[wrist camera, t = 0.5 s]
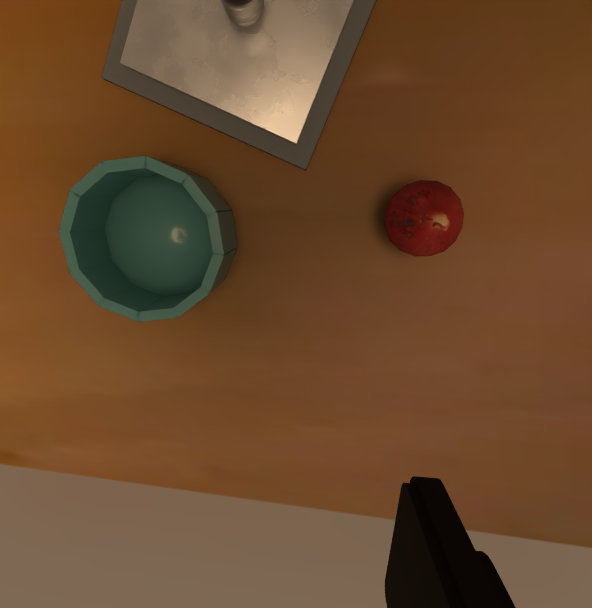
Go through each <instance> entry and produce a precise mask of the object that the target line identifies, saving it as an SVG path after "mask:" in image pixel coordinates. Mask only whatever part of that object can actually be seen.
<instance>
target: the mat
mask: <svg viewBox="0 0 592 608" xmlns="http://www.w3.org/2000/svg"><path fill="white" fill-rule="evenodd" d="M375 1H376V0H354V2H353V5H352V7H351V10H350V12H349V15H348V17H347V20H346V22H345V25H344V27H343V30H342V32H341V35H340V37H339V40H338V42H337V45H336V47H335V50H334V52H333V55H332V57H331V60H330V62H329V65H328V67H327V70H326V72H325V75H324V77H323V80H322V82H321V85H320V87H319V90H318V92H317V95H316V97H315V100H314V102H313V105H312V107H311V110H310V112H309V115H308V117H307V120H306V122H305V125H304V127H303V129H302V132H301V134H300V137H299V139H298V142H297V144H294V143H292V142H289V141H287V140H285V139H283V138H281V137H278V136H276V135H274V134H272V133H270V132H267V131H265V130H263V129H261V128H259V127H256V126H254V125H252V124H250V123H248V122H245V121H243V120H241V119H239V118H237V117H235V116H232V115H230V114H228V113H226V112H224V111H221V110H219V109H217V108H215V107H213V106H210V105H208V104H206V103H204V102H202V101H199V100H197V99H195V98H193V97H191V96H188V95H186V94H184V93H182V92H180V91H178V90H175V89H173V88H171V87H169V86H167V85H164V84H162V83H160V82H158V81H156V80H153V79H151V78H149V77H147V76H145V75H142V74H140V73H138V72H136V71H134V70H131V69H129V68H127V67H125V66H123V65H122V64H121V63H120V61H121V57H122V54H123V50H124V47H125V43H126V39H127V36H128V32H129V29H130V25H131V22H132V18H133V14H134V11H135V7H136V4H137V0H122V3H121V7H120V11H119V14H118V18H117V22H116V26H115V29H114V33H113V37H112V40H111V44H110V48H109V51H108V55H107V59H106V62H105V66H104V70H103V73H102V78H103V79H105V80H107V81H110V82H112V83H114V84H116V85H118V86H121V87H123V88H125V89H127V90H129V91H132V92H134V93H136V94H138V95H141V96H143V97H145V98H147V99H149V100H152V101H154V102H156V103H158V104H160V105H163V106H165V107H167V108H169V109H172V110H174V111H176V112H178V113H180V114H183V115H185V116H187V117H189V118H191V119H194V120H196V121H198V122H200V123H203V124H205V125H207V126H209V127H211V128H214V129H216V130H218V131H220V132H222V133H225V134H227V135H229V136H231V137H234V138H236V139H238V140H240V141H242V142H245V143H247V144H249V145H251V146H253V147H256V148H258V149H260V150H262V151H265V152H267V153H269V154H271V155H273V156H276V157H278V158H280V159H282V160H285V161H287V162H289V163H291V164H293V165H296V166H298V167H300V168H302V169H304V170H306V168H307V166H308V163H309V161H310V159H311V156H312V154H313V151H314V149H315V146H316V144H317V142H318V139H319V137H320V134H321V132H322V129H323V127H324V125H325V122H326V120H327V117H328V115H329V113H330V110H331V108H332V105H333V103H334V100H335V98H336V96H337V93H338V91H339V88H340V86H341V84H342V81H343V79H344V76H345V74H346V71H347V69H348V67H349V64H350V62H351V59H352V57H353V55H354V52H355V50H356V47H357V45H358V42H359V40H360V38H361V35H362V33H363V30H364V28H365V26H366V23H367V21H368V18H369V16H370V13H371V11H372V9H373V6H374V4H375Z"/></svg>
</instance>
